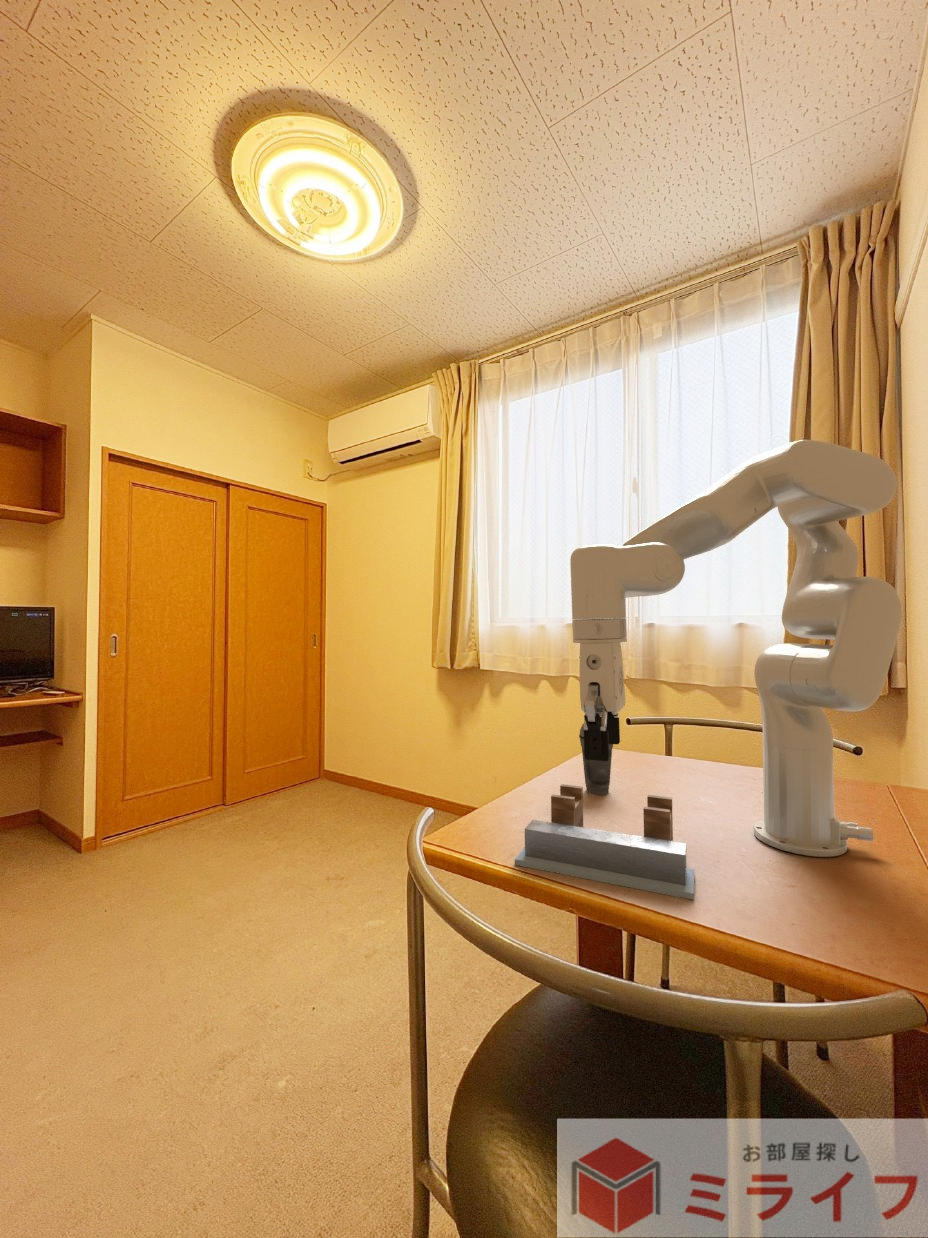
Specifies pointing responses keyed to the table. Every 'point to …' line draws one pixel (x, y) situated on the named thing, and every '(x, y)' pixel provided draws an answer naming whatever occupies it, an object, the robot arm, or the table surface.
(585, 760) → the beverage cup
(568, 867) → the grey board
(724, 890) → the table surface
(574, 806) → the post far
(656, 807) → the post near
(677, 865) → the rail
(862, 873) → the table surface
